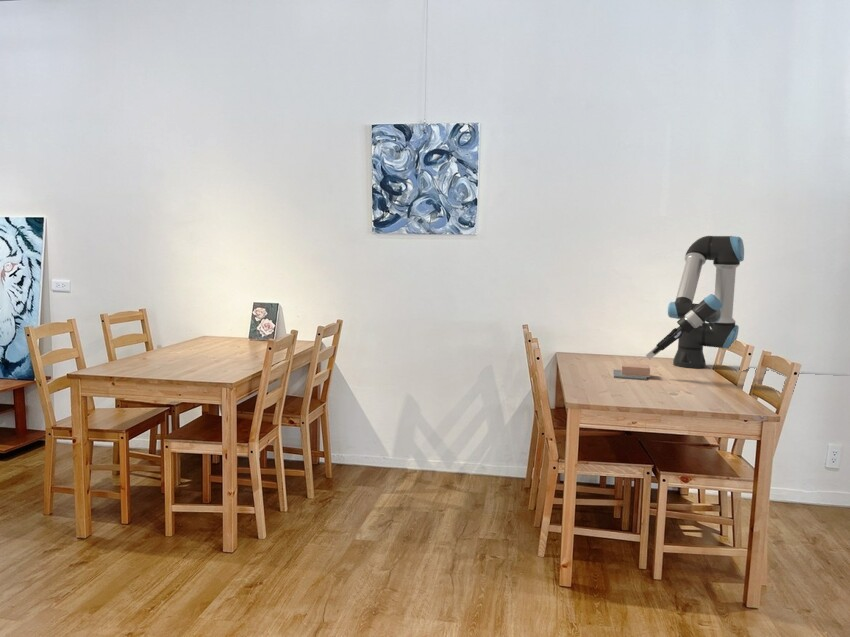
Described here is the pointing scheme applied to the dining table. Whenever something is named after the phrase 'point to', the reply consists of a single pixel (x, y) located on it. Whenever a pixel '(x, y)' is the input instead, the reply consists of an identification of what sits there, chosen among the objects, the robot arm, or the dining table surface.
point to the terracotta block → (635, 370)
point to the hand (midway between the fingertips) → (647, 357)
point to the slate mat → (618, 375)
